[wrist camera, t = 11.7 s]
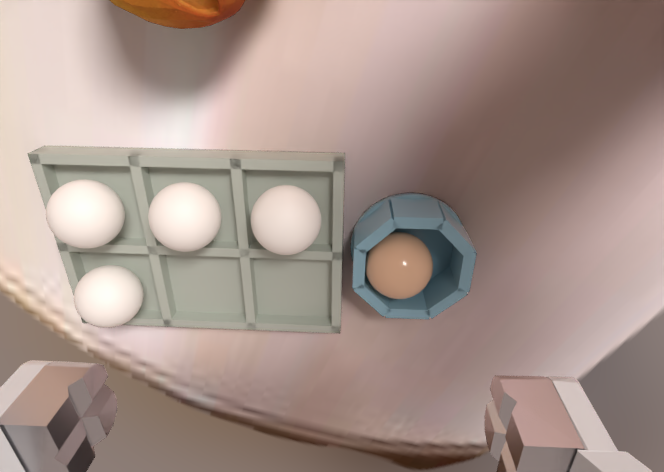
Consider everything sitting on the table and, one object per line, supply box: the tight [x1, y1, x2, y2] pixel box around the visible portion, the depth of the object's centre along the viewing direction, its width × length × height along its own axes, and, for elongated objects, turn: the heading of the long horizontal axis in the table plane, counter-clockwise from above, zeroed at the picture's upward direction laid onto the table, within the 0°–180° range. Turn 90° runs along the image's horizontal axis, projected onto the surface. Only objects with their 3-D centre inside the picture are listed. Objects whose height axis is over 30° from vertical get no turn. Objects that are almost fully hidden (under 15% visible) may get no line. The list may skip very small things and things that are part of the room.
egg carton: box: [28, 146, 345, 333], centre depth 31 cm, size 21×14×5 cm
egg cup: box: [351, 193, 477, 319], centre depth 31 cm, size 8×8×4 cm
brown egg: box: [365, 232, 433, 299], centre depth 30 cm, size 5×5×5 cm
